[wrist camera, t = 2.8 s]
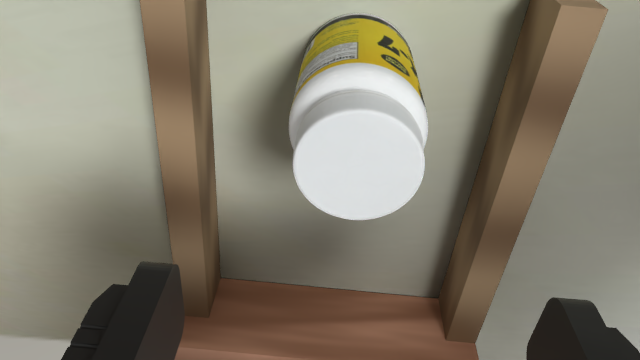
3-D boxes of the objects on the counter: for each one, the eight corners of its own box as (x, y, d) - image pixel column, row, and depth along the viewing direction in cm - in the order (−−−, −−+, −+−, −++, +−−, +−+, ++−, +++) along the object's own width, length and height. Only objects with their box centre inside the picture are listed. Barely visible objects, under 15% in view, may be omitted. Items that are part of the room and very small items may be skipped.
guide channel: (162, -52, 20) (112, -21, 15) (576, -13, 20) (635, 28, 15) (196, 298, 31) (171, 369, 27) (457, 323, 31) (472, 398, 27)
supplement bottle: (428, 87, 22) (462, 201, 15) (334, 129, 24) (327, 251, 17) (383, -12, 20) (398, 69, 13) (282, 42, 21) (248, 140, 15)
